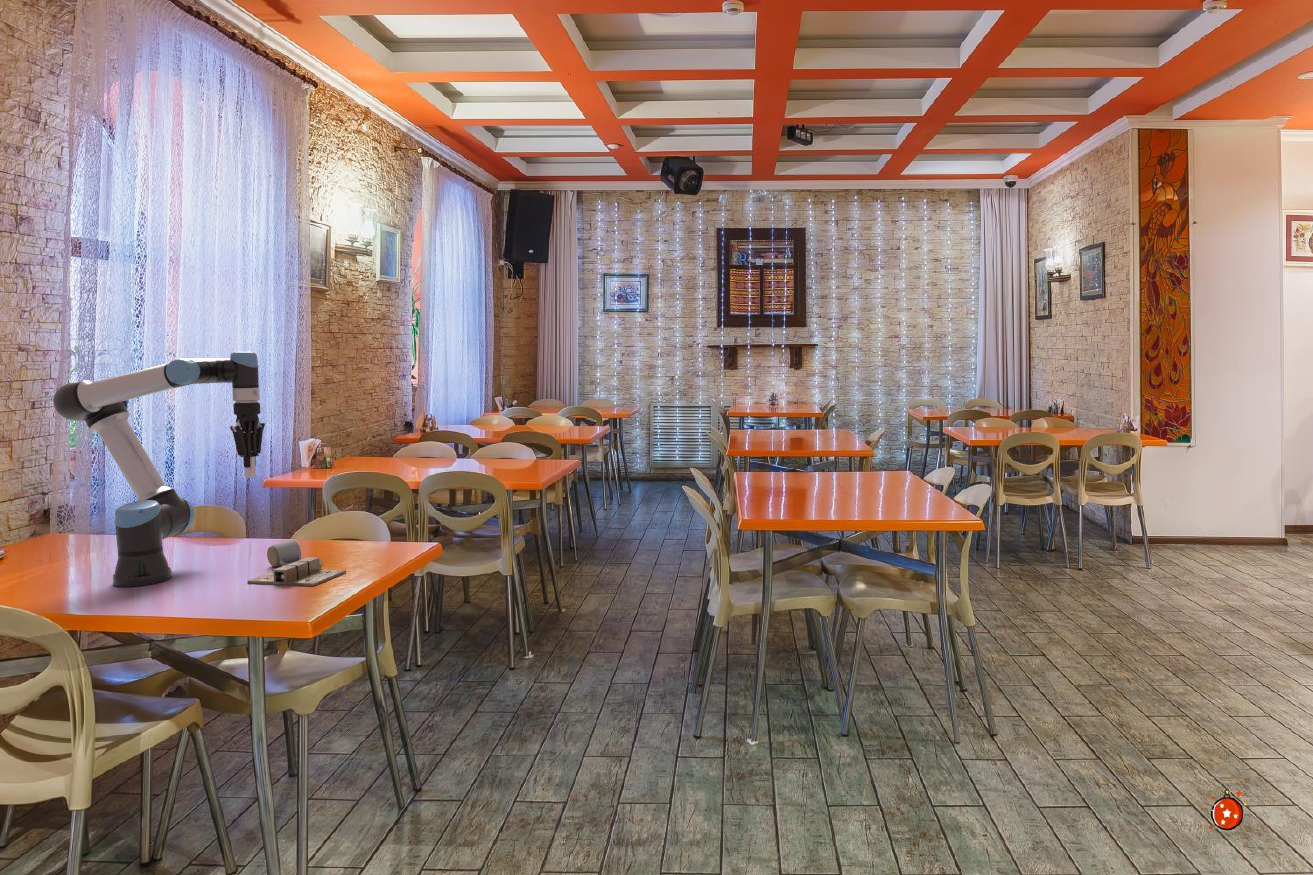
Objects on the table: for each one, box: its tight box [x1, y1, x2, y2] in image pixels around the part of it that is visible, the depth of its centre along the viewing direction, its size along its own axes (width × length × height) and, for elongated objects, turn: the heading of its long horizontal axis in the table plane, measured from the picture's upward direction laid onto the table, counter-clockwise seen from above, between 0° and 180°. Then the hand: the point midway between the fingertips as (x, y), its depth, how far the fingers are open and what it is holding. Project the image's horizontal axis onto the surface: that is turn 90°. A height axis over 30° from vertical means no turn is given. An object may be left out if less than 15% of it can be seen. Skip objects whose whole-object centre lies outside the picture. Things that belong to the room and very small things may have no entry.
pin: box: [279, 557, 324, 581], centre depth 257 cm, size 17×3×3 cm, turn 167°
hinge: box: [247, 556, 347, 587], centre depth 255 cm, size 16×22×4 cm
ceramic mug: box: [266, 539, 302, 568], centre depth 271 cm, size 11×8×8 cm
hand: (250, 477), depth 266 cm, fingers closed
